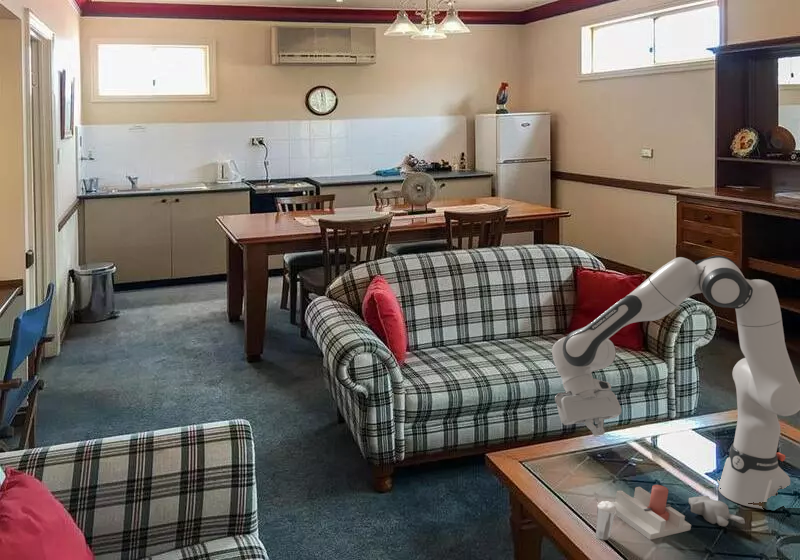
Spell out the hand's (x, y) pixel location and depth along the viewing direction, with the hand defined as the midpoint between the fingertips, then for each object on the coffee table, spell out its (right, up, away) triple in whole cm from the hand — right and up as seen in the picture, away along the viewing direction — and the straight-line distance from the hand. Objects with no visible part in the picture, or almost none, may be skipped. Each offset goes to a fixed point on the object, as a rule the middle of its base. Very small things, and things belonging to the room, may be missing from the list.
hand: (599, 434), depth 212 cm
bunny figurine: (+27, -20, -13) cm, 36 cm away
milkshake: (-7, -20, -26) cm, 33 cm away
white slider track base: (+8, -19, -15) cm, 26 cm away
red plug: (+10, -18, -18) cm, 27 cm away
